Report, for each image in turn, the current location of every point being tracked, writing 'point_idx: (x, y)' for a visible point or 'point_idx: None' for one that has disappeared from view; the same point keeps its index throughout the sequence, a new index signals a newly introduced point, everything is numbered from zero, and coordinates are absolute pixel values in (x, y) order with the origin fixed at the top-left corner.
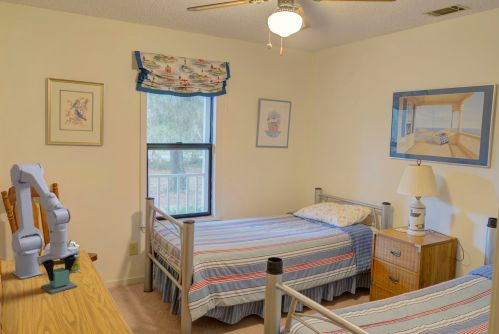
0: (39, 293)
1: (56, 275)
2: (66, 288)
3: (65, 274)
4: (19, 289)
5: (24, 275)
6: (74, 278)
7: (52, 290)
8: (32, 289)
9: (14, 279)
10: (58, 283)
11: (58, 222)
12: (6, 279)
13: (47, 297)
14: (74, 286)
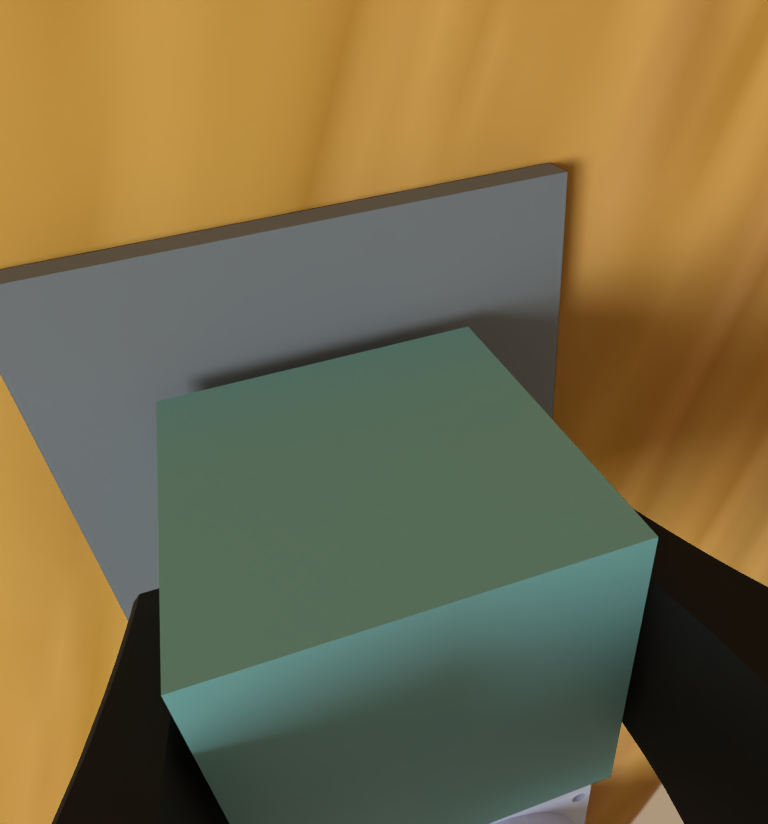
0: (659, 323)
1: (583, 509)
2: (248, 233)
3: (288, 560)
4: (724, 557)
5: (554, 820)
6: (6, 700)
7: (515, 278)
8: (641, 507)
9: (617, 775)
10: (426, 381)
11: None
12: (657, 782)
13: (676, 30)
14: (38, 273)
